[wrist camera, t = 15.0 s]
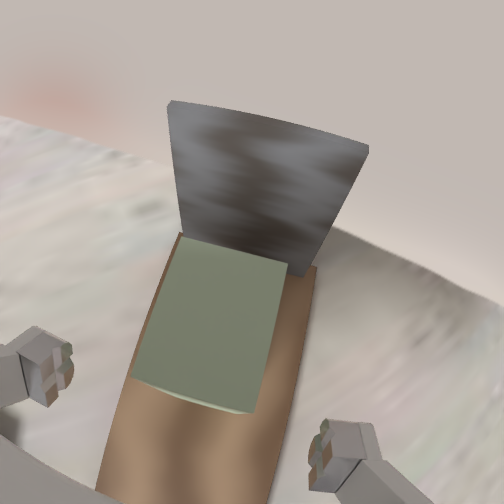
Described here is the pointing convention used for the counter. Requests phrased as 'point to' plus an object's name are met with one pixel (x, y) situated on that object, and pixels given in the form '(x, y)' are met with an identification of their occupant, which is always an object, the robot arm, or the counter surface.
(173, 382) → the sage green box
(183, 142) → the bookend
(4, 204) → the counter surface
